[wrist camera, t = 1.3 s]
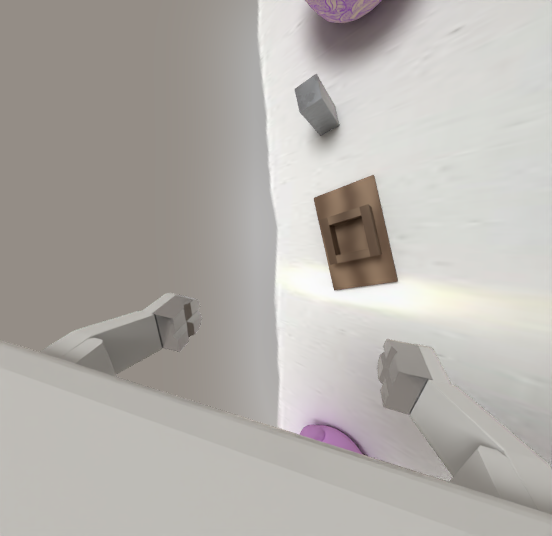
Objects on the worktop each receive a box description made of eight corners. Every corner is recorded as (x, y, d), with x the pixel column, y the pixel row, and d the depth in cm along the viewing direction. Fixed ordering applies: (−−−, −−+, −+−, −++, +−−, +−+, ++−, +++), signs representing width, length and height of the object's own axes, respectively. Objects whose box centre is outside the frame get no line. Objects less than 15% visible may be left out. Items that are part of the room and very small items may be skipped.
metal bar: (335, 105, 44) (316, 73, 35) (339, 125, 44) (321, 97, 35) (316, 117, 46) (294, 89, 37) (320, 135, 46) (299, 112, 37)
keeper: (374, 176, 41) (370, 169, 38) (397, 280, 41) (396, 284, 37) (315, 198, 48) (306, 195, 44) (335, 289, 47) (328, 293, 44)
